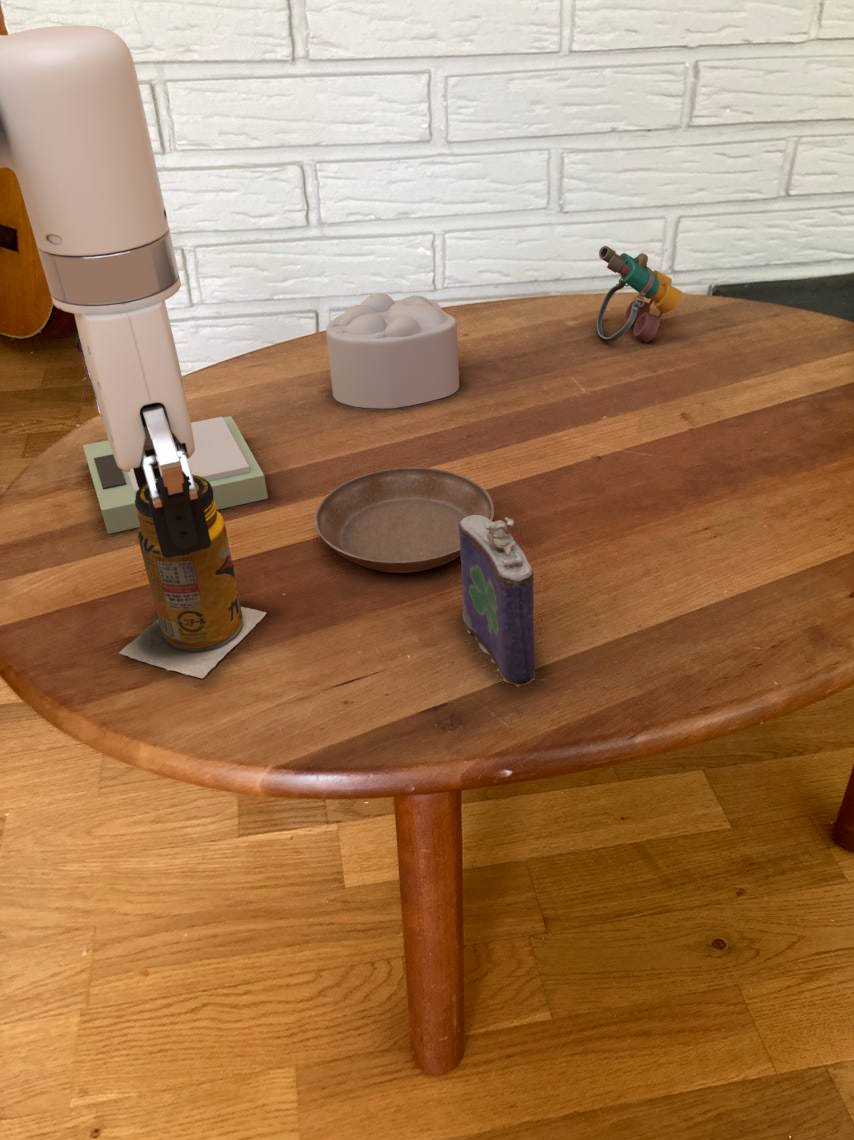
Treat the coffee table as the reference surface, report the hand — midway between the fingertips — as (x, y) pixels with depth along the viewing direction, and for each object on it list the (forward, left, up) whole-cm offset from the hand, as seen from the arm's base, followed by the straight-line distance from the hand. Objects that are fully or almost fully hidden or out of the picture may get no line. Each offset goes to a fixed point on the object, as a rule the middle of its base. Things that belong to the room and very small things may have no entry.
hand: (173, 516), depth 74 cm
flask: (+20, -11, -10) cm, 25 cm away
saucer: (+19, +6, -10) cm, 22 cm away
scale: (+3, +24, -10) cm, 26 cm away
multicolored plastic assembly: (+58, +36, -10) cm, 69 cm away
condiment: (0, 0, -10) cm, 10 cm away
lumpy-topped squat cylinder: (+28, +35, -10) cm, 46 cm away
